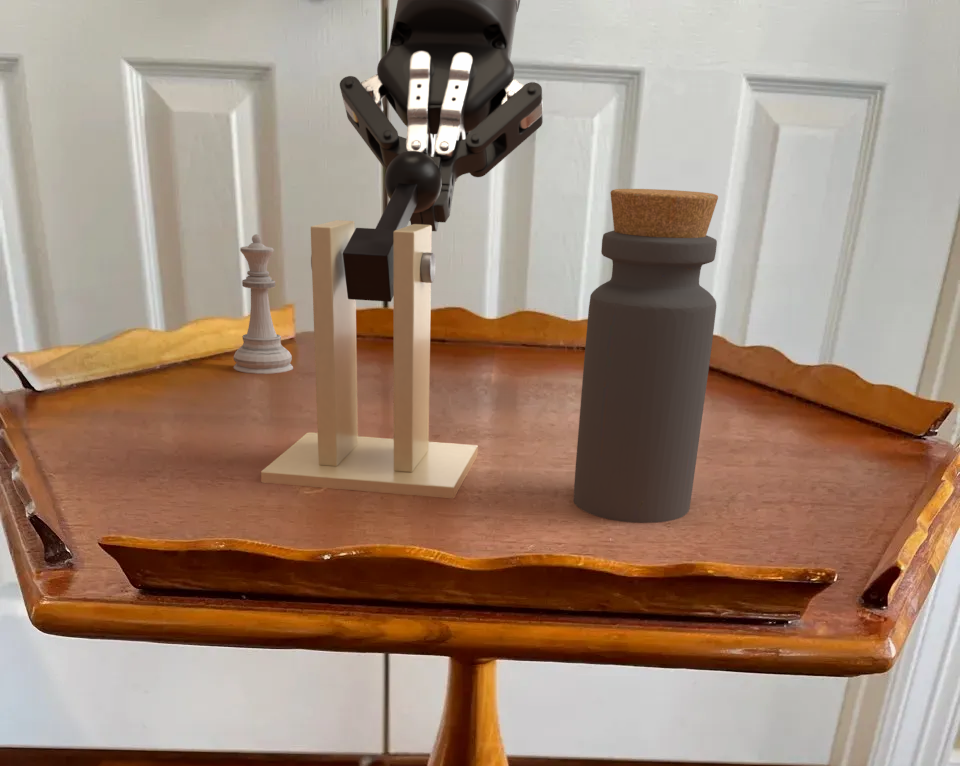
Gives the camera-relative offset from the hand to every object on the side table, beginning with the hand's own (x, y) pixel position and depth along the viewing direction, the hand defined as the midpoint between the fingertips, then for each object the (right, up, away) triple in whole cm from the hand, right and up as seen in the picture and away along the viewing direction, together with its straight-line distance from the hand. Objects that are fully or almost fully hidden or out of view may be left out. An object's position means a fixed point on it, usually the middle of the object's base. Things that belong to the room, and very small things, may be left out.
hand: (422, 221), depth 60 cm
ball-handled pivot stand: (-2, -16, -4) cm, 17 cm away
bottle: (+11, -18, -8) cm, 23 cm away
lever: (-1, -3, -5) cm, 6 cm away
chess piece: (-13, -5, +18) cm, 23 cm away
